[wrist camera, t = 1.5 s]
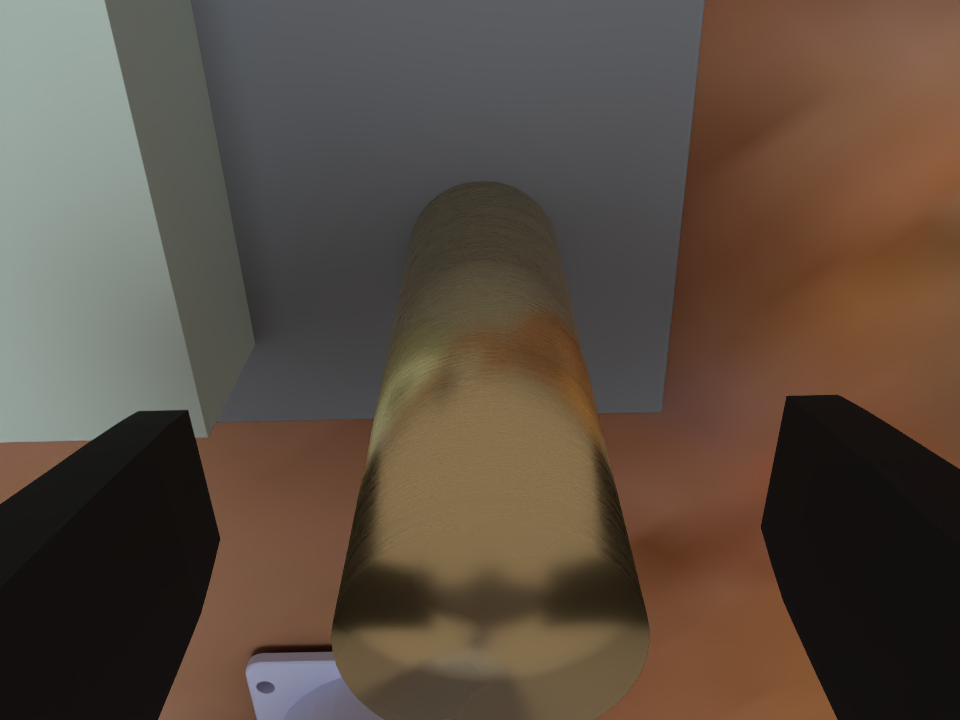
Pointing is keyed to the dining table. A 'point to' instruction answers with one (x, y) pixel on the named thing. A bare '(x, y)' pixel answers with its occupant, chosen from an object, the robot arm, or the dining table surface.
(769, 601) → the dining table surface
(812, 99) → the dining table surface
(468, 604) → the brass peg
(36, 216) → the hole block
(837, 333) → the dining table surface
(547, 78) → the rubber mat
